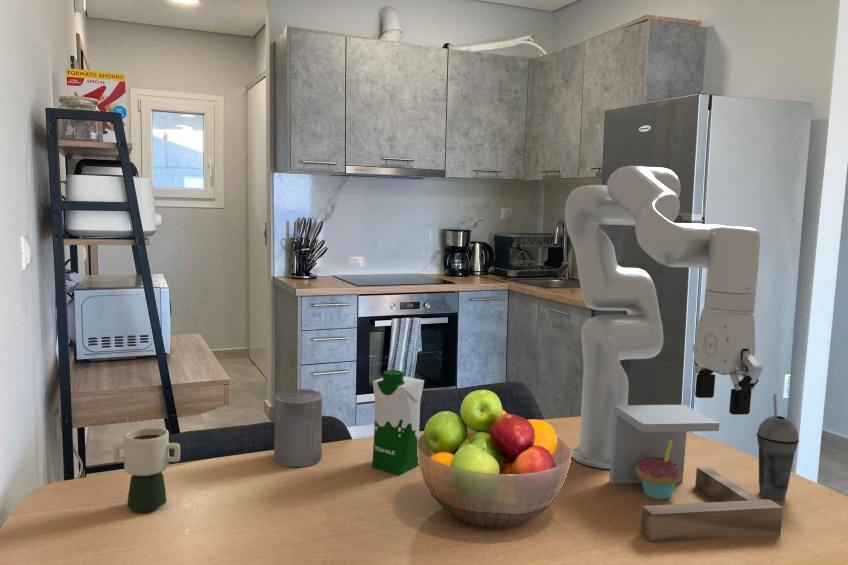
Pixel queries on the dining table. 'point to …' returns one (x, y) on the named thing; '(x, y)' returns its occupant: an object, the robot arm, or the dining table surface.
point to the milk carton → (396, 422)
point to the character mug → (146, 465)
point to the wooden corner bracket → (712, 514)
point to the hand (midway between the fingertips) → (721, 405)
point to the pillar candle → (298, 428)
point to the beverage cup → (776, 454)
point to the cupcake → (659, 475)
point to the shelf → (651, 436)
